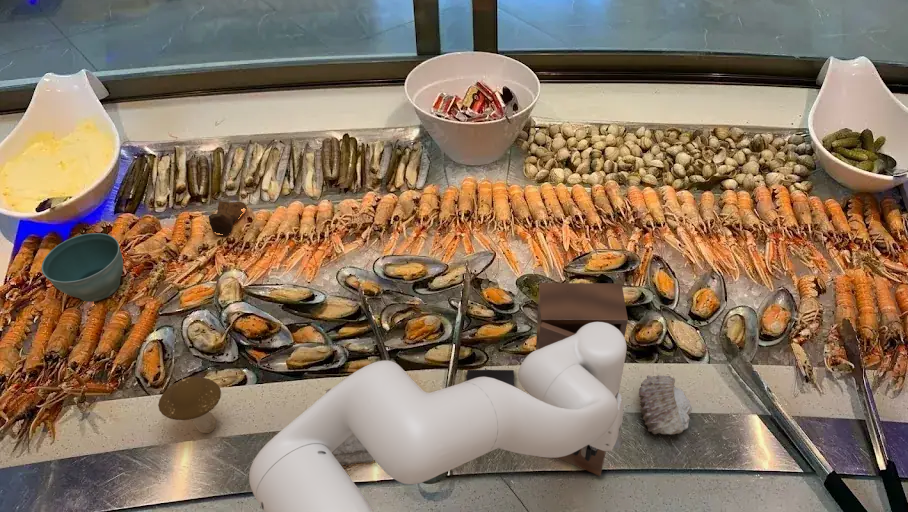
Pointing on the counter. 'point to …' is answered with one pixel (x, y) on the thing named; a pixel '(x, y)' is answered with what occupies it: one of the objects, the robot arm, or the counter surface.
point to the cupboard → (581, 305)
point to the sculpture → (226, 217)
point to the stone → (351, 451)
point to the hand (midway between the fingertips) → (584, 450)
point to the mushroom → (192, 402)
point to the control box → (493, 375)
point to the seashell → (664, 405)
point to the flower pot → (85, 266)
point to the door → (595, 464)
